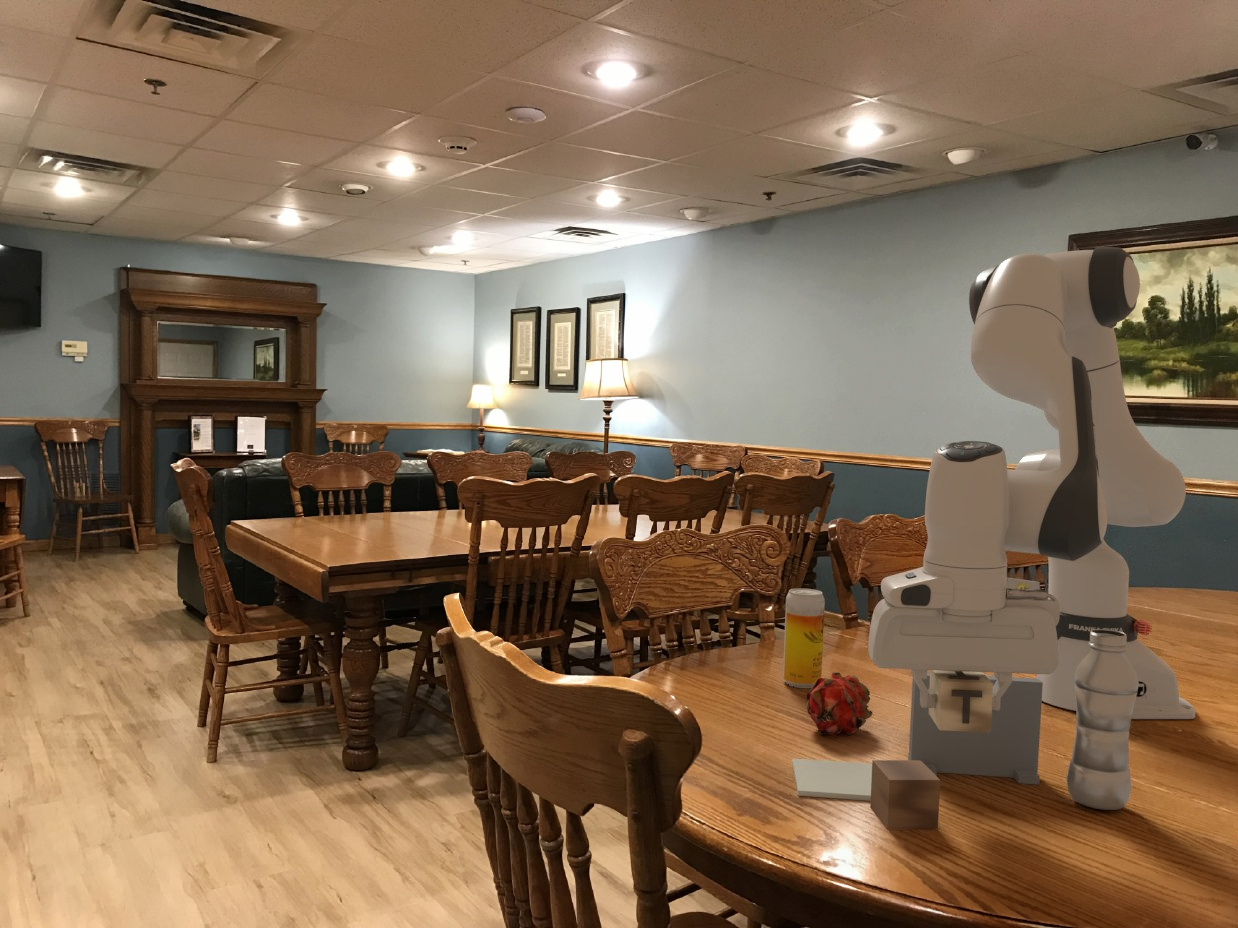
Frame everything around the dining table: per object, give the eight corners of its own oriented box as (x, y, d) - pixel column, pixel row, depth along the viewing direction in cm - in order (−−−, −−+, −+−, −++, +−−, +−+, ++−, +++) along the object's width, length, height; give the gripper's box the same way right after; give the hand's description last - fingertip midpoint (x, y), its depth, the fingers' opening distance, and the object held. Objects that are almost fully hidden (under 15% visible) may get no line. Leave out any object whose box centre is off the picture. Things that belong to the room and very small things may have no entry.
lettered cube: (977, 715, 110) (979, 666, 109) (991, 732, 104) (993, 682, 104) (928, 713, 110) (930, 665, 110) (939, 730, 105) (941, 680, 104)
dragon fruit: (856, 729, 136) (828, 767, 126) (810, 688, 139) (779, 722, 129) (891, 691, 132) (865, 727, 122) (843, 649, 135) (813, 681, 125)
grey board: (1028, 768, 119) (1033, 674, 118) (1041, 784, 114) (1047, 686, 113) (905, 760, 121) (910, 667, 120) (913, 775, 116) (918, 678, 115)
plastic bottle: (1053, 793, 111) (1063, 625, 110) (1108, 793, 112) (1119, 626, 111) (1085, 817, 105) (1096, 639, 104) (1143, 817, 106) (1155, 640, 104)
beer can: (821, 690, 149) (825, 596, 148) (782, 687, 151) (785, 593, 150) (820, 679, 155) (824, 589, 154) (783, 676, 156) (786, 586, 156)
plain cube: (918, 808, 106) (920, 760, 106) (937, 830, 101) (940, 779, 101) (870, 808, 106) (872, 760, 106) (887, 830, 101) (889, 779, 100)
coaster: (873, 768, 118) (874, 763, 117) (887, 801, 108) (887, 796, 108) (792, 762, 119) (792, 758, 119) (798, 795, 109) (798, 790, 109)
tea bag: (1005, 622, 202) (1008, 576, 201) (1039, 628, 198) (1042, 580, 197) (1000, 625, 199) (1003, 578, 198) (1034, 631, 195) (1037, 583, 194)
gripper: (1050, 584, 108) (1045, 702, 109) (867, 579, 110) (864, 695, 111) (1071, 596, 102) (1065, 721, 103) (876, 590, 104) (872, 713, 105)
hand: (959, 707), depth 107 cm, fingers closed on lettered cube, 5 cm apart
